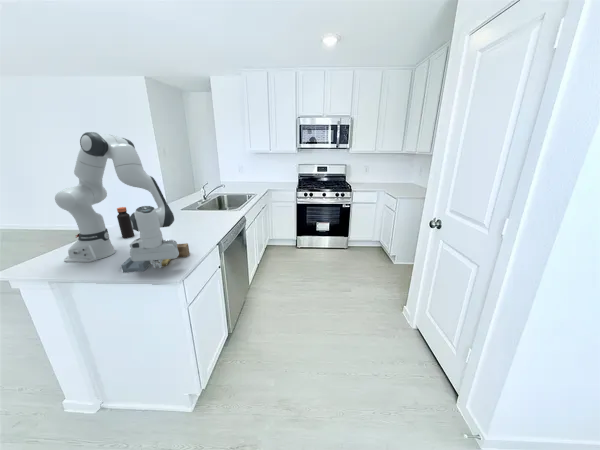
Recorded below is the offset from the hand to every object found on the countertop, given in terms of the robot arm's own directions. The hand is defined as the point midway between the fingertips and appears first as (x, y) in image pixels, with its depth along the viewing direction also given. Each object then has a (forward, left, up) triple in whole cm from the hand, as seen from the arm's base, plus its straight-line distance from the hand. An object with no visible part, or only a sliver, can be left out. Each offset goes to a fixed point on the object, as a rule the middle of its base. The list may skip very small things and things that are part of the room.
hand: (158, 267), depth 118 cm
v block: (-12, +7, -2) cm, 14 cm away
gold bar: (0, +11, -2) cm, 11 cm away
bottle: (-38, +55, -2) cm, 67 cm away
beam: (0, +17, -2) cm, 17 cm away
